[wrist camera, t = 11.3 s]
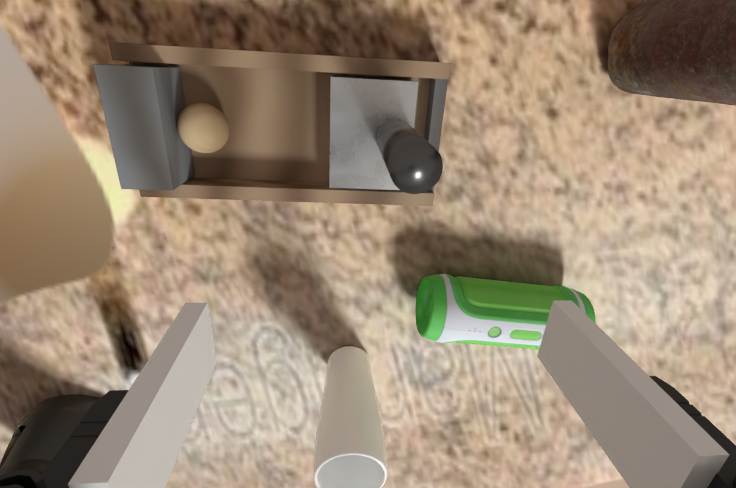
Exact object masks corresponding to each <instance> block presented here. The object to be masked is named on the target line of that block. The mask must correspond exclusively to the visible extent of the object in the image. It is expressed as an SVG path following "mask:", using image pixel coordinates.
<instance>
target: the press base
mask: <svg viewBox="0 0 736 488" xmlns="http://www.w3.org/2000/svg"><path fill="white" fill-rule="evenodd" d="M109 45H110V50H111V55H112V60H119V61H129V64H130V65H108V64H93V66H94V70H95V75H96V79H97V84H98V88H99V92H100V97H101V101H102V106H103V110H104V114H105V119H106V123H107V128H108V132H109V136H110V141H111V145H112V150H113V154H114V159H115V163H116V167H117V172H118V176H119V181H120V185H121V189H139V190H140V195H141V197H169V198H200V199H231V200H262V201H293V202H324V203H355V204H386V205H417V206H433V198H434V193H433V190H434V186H433V187H432V188H431V189H430V190H428V191H426V192H423V193H420V194H409V193H406V192H403V191H401V190H382V189H353V188H329V177H330V85H331V76H338V77H356V78H373V79H391V80H409V81H417V82H418V91H417V101H416V111H415V121H414V129H415V130H416V131H417V132H418V133H419V134H420V135H421V136H422V137H424V138H425V139H426V140H427V141H428V142H429V143H430V144H431V145H432V146H433V147H435V148H436V149H437V151H439V143H440V136H441V128H442V120H443V113H444V105H445V97H446V90H447V82H448V79H449V76H450V68H451V63H443V62H426V61H410V60H393V59H377V58H360V57H344V56H327V55H311V54H294V53H278V52H261V51H244V50H228V49H211V48H195V47H178V46H162V45H145V44H129V43H112V42H109ZM195 103H206V104H210V105H212V106H214V107H216V108H217V109H219V110H220V111H221V112H222V113H223V114H224V116H225V117H226V119H227V121H228V124H229V137H228V140H227V142H226V144H225V145H224V146H223V147H222V148H221V149H219V150H217V151H215V152H212V153H201V152H197V151H194V150H192V149H191V148H189V147H188V146H187V145H186V144H185V143H184V142H183V141H182V139H181V138H180V136H179V133H178V130H177V121H178V117H179V115H180V113H181V112H182V111H183V109H184V108H186V107H187V106H189V105H191V104H195Z"/></svg>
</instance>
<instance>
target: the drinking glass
mask: <svg viewBox="0 0 736 488" xmlns="http://www.w3.org/2000/svg"><path fill="white" fill-rule="evenodd" d="M386 479H387V460H386V447H385V439H384V432H383V427H382V421H381V417H380V412H379V407H378V402H377V397H376V393H375V388H374V383H373V377H372V372H371V363H370V359H369V356H368V355H367V353H366V352H365V351H363V350H362V349H360V348H358V347H354V346H345V347H341V348H339V349H337V350H335V351H334V352H333V353H332V354H331V355H330V357H329V359H328V362H327V374H326V380H325V386H324V392H323V398H322V404H321V409H320V415H319V421H318V427H317V433H316V442H315V453H314V482H315V484H316V486H317V488H381V487H382V486H383V485H384V483H385V481H386Z"/></svg>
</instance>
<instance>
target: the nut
mask: <svg viewBox="0 0 736 488" xmlns="http://www.w3.org/2000/svg"><path fill="white" fill-rule="evenodd" d="M177 130H178V133H179V136H180V138H181V139H182V141H183V142H184V143H185V144H186V145H187V146H188V147H189V148H191V149H192V150H194V151H197V152H201V153H212V152H215V151H217V150H219V149H221V148H222V147H223V146H224V145H225V144H226V142H227V140H228V137H229V124H228V121H227V119H226V117H225V116H224V114H223V113H222V112H221V111H220V110H219V109H217V108H216V107H214V106H212V105H210V104H206V103H195V104H191V105H189V106H187V107H186V108H184V109H183V111H182V112H181V113H180V115H179V117H178V121H177Z"/></svg>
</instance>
